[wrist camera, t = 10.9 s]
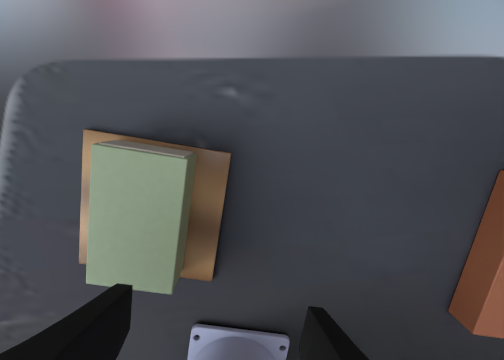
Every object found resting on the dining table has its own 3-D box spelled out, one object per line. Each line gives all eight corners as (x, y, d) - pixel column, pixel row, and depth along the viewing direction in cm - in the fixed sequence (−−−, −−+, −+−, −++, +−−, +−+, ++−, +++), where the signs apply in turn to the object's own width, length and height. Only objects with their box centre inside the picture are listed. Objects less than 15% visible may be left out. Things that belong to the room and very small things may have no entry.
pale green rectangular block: (182, 270, 20) (172, 295, 17) (109, 260, 20) (85, 283, 17) (197, 151, 18) (188, 157, 15) (116, 138, 18) (91, 141, 15)
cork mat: (212, 278, 21) (211, 281, 20) (81, 260, 20) (78, 263, 20) (231, 152, 19) (231, 153, 18) (86, 128, 18) (83, 129, 18)
